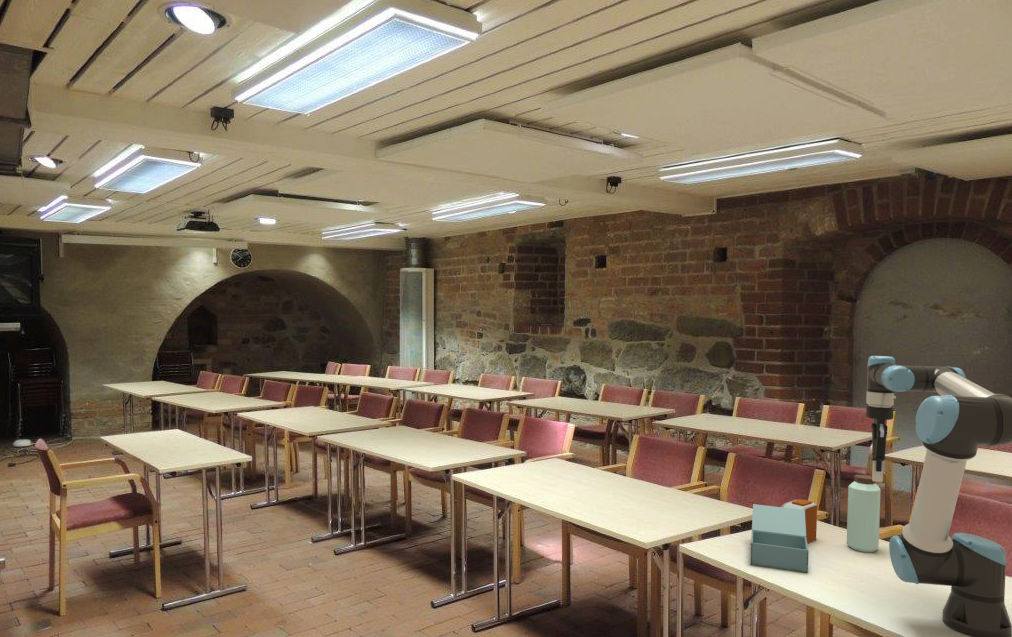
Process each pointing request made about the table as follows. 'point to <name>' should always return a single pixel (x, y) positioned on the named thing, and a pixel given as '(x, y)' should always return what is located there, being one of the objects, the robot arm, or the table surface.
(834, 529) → the table surface
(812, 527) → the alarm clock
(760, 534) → the grey-green open box
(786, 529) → the lid
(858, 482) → the water bottle
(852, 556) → the table surface
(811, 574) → the table surface
